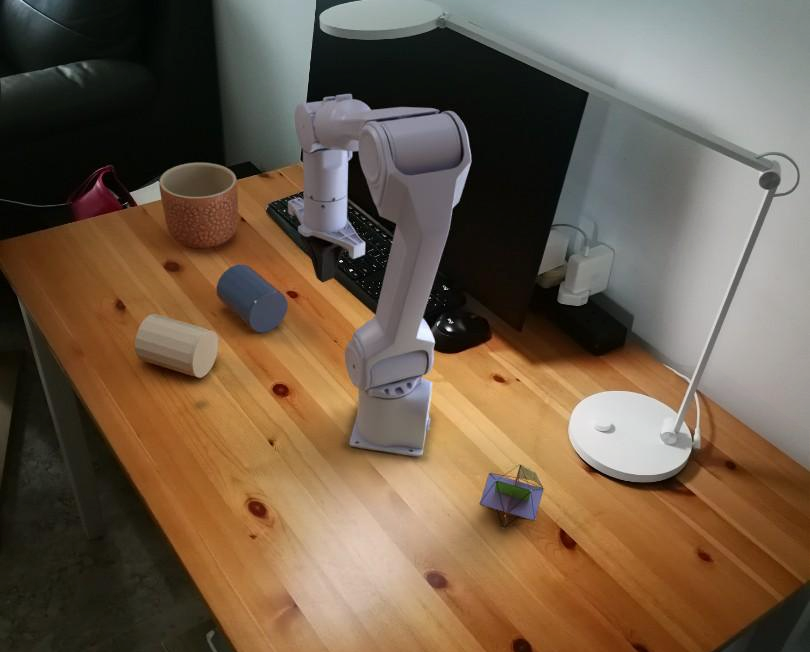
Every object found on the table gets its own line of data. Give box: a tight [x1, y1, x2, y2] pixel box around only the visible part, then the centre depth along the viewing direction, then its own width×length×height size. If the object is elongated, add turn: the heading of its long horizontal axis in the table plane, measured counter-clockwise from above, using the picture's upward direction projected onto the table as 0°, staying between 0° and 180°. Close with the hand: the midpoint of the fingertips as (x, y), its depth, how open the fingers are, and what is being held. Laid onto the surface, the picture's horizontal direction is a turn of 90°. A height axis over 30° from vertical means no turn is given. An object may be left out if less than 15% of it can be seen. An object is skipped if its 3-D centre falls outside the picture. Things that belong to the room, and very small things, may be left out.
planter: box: [158, 162, 239, 250], centre depth 141 cm, size 12×12×11 cm
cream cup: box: [134, 313, 219, 379], centre depth 117 cm, size 7×7×9 cm
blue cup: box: [215, 263, 289, 333], centre depth 127 cm, size 7×7×9 cm
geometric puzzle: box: [478, 463, 545, 529], centre depth 100 cm, size 7×7×8 cm
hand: (325, 278), depth 119 cm, fingers closed
